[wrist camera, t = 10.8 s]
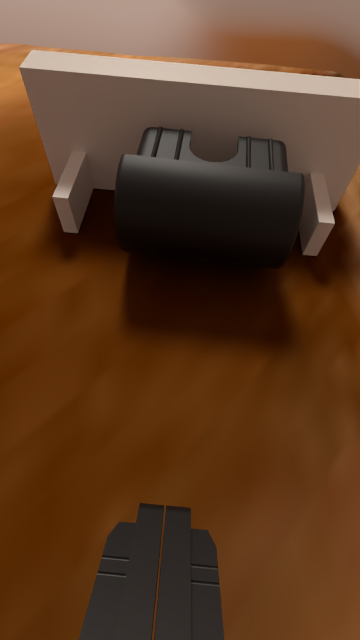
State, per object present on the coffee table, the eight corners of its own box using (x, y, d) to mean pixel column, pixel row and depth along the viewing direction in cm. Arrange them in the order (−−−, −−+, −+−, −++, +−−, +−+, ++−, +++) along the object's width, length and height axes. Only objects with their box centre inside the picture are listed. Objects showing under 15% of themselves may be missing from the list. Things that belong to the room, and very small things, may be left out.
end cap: (121, 277, 22) (107, 190, 17) (140, 205, 26) (133, 114, 20) (272, 295, 22) (311, 212, 16) (269, 220, 26) (300, 131, 20)
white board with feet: (36, 229, 24) (-14, 111, 17) (64, 166, 28) (32, 49, 21) (344, 258, 24) (417, 151, 17) (329, 191, 28) (383, 81, 21)
